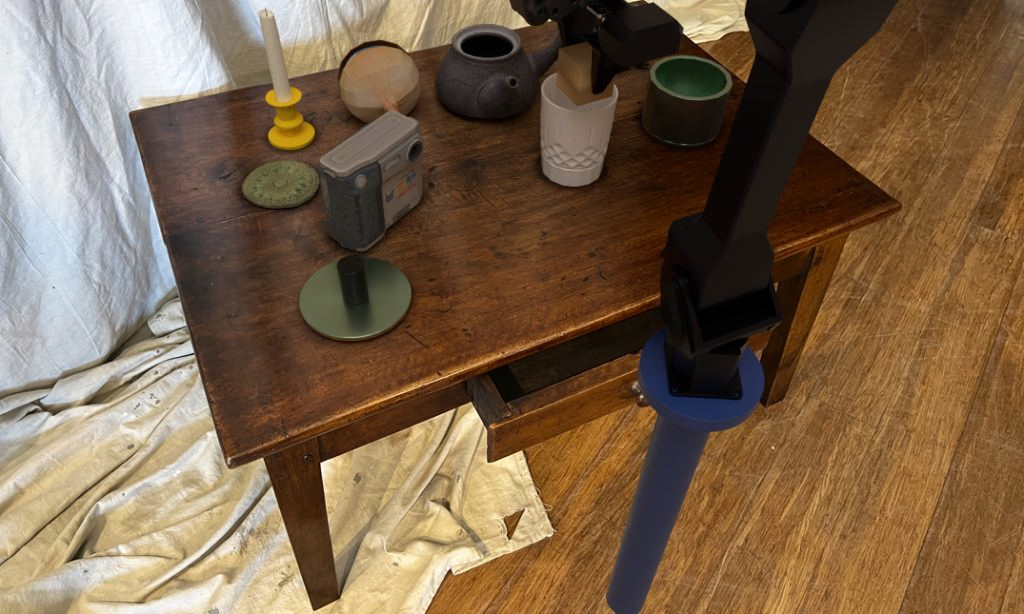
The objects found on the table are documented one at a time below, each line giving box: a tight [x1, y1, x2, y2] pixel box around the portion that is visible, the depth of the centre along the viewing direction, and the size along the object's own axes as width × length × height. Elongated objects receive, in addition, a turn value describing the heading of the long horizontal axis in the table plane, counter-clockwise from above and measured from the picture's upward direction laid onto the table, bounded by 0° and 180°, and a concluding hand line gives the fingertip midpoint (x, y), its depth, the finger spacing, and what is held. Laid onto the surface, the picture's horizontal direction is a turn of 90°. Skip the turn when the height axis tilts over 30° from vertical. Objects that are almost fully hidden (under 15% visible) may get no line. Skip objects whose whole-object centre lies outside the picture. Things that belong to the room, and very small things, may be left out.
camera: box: [316, 111, 425, 253], centre depth 78 cm, size 11×6×10 cm, turn 143°
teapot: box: [434, 23, 597, 120], centre depth 93 cm, size 19×15×10 cm
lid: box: [298, 254, 413, 342], centre depth 72 cm, size 10×10×5 cm
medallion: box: [241, 159, 320, 209], centre depth 84 cm, size 8×8×1 cm
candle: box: [258, 7, 316, 151], centre depth 85 cm, size 5×5×16 cm
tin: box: [641, 54, 733, 149], centre depth 92 cm, size 9×9×6 cm
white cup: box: [540, 72, 619, 188], centre depth 85 cm, size 8×8×10 cm
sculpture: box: [336, 39, 421, 124], centre depth 90 cm, size 9×9×15 cm
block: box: [556, 42, 616, 107], centre depth 76 cm, size 4×4×4 cm
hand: (585, 81), depth 76 cm, fingers closed on block, 4 cm apart
